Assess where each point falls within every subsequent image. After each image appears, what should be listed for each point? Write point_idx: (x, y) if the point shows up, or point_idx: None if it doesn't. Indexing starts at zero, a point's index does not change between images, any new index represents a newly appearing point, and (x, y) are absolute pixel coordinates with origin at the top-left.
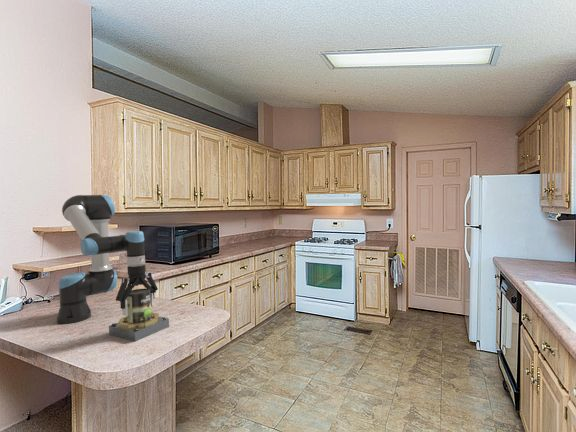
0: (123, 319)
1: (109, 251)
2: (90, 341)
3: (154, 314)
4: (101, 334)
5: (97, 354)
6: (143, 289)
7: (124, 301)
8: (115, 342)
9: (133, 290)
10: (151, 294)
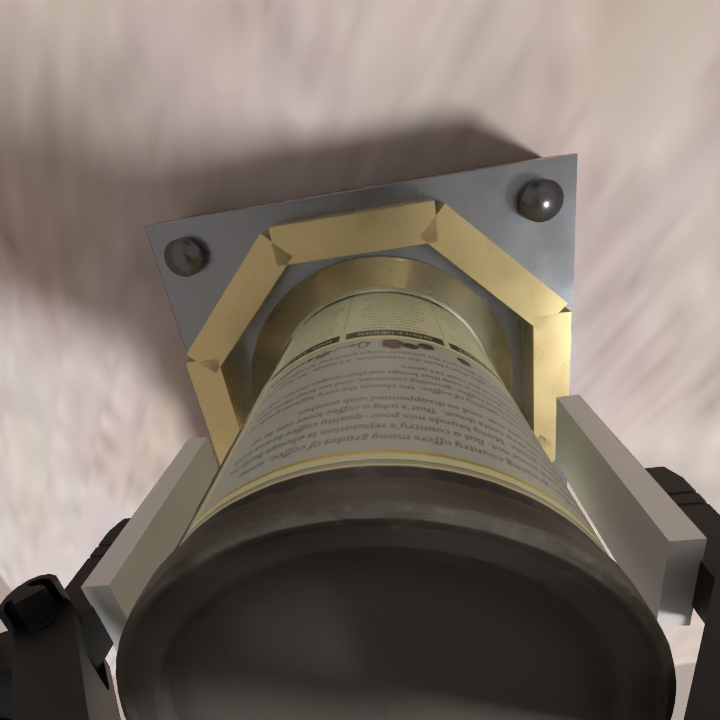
0: (262, 301)
1: None
2: (37, 231)
3: (532, 424)
4: (135, 142)
5: (53, 479)
6: (605, 646)
7: (109, 639)
8: (174, 409)
9: (393, 547)
10: (644, 597)
